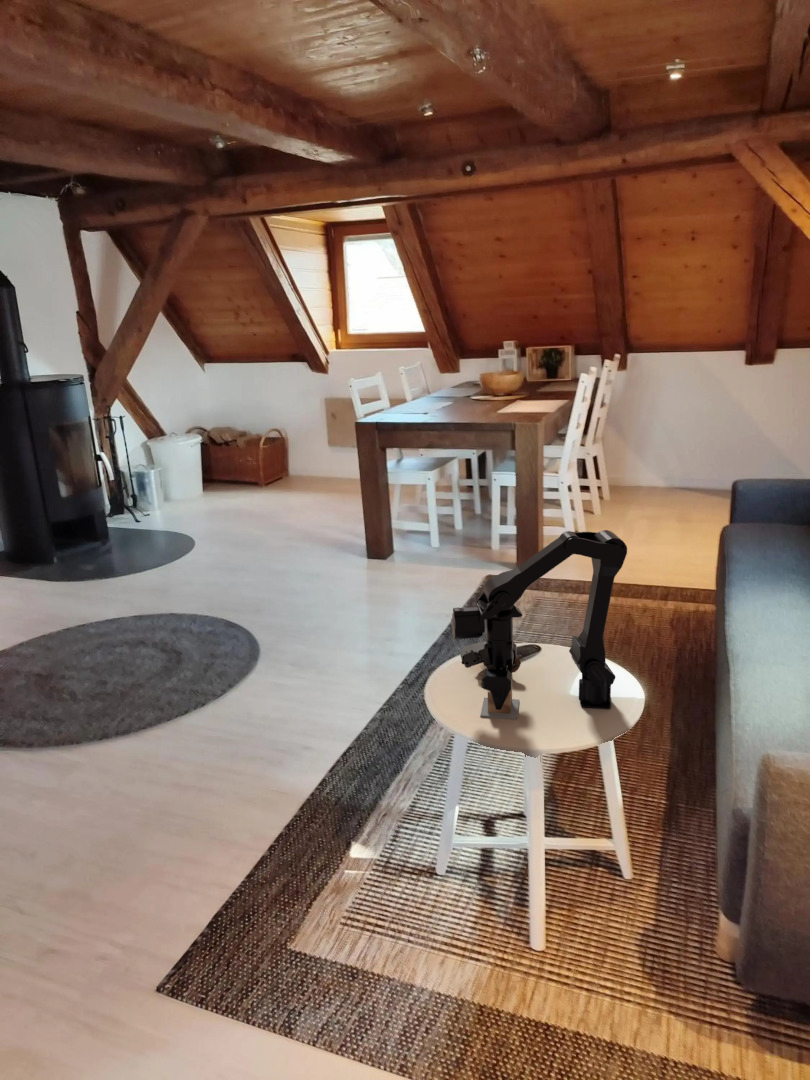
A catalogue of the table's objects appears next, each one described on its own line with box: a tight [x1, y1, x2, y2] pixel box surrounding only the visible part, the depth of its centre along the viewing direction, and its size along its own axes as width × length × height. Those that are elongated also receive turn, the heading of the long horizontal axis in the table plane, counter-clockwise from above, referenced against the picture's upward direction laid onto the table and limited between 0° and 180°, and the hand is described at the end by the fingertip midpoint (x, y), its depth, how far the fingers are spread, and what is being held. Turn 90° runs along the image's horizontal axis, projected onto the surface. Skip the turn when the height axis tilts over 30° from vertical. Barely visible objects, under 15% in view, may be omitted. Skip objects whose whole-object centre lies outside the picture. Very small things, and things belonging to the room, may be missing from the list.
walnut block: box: [487, 686, 513, 714], centre depth 173 cm, size 5×5×5 cm
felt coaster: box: [480, 696, 520, 720], centre depth 174 cm, size 8×8×1 cm
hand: (500, 698), depth 173 cm, fingers open, 9 cm apart
